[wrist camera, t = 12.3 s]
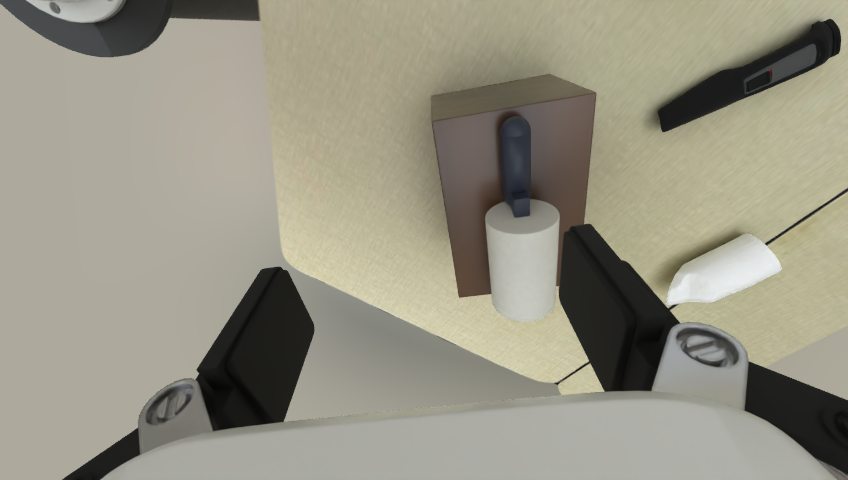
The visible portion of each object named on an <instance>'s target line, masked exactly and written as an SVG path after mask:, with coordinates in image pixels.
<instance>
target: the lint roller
mask: <svg viewBox="0 0 848 480" xmlns="http://www.w3.org/2000/svg"><path fill="white" fill-rule="evenodd" d="M500 149H501V169H502V188H503V199H504V201H505V202H502V203H499V204H497V205H495V206H493V207H492V208H491V209H490V210H489V211H488V212H487V213H486V216H485V223H486V235H487V246H488V258H489V270H490V282H491V293H492V303H493V306H494V308H495V309H496V310H497V311H498V312H499V313H500V314H501V315H502V316H504V317H506V318H508V319H511V320H514V321H519V322H532V321H537V320H540V319H542V318H544V317H546V316H547V315H549V314H550V313H551V312H552V310H553V309H554V306H555V298H556V279H557V259H558V239H559V220H560V215H559V212H558V210H557V209H556V208H555V207H554V206H553V205H551V204H549V203H547V202H544V201H540V200H534V199H530V197H531V127H530V124H529V123H528V121H527V120H526V119H524V118H522V117H519V116H514V117H510V118H509V119H507V120H506V121H505V122H504V123H503V124H502V126H501V129H500Z"/></svg>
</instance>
